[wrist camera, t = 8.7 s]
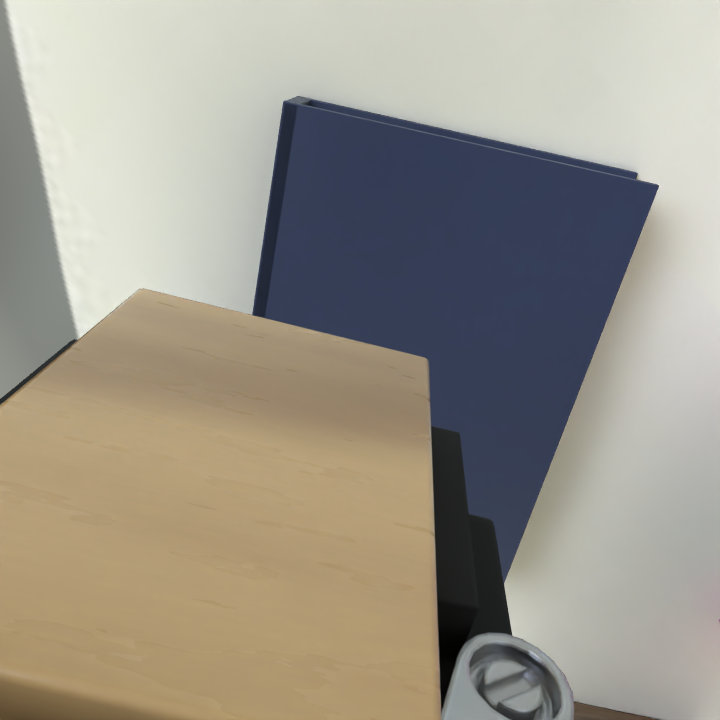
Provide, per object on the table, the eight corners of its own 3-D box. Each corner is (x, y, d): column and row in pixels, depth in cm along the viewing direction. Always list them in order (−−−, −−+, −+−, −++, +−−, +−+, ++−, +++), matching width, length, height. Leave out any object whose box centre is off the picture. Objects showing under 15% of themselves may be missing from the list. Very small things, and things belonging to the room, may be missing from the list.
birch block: (139, 285, 11) (-258, 612, 4) (430, 356, 11) (447, 774, 5) (116, 520, 13) (-181, 978, 6) (362, 578, 13) (309, 1085, 7)
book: (297, 95, 27) (283, 100, 24) (635, 172, 27) (659, 185, 25) (236, 493, 36) (220, 530, 33) (495, 550, 36) (500, 591, 33)
